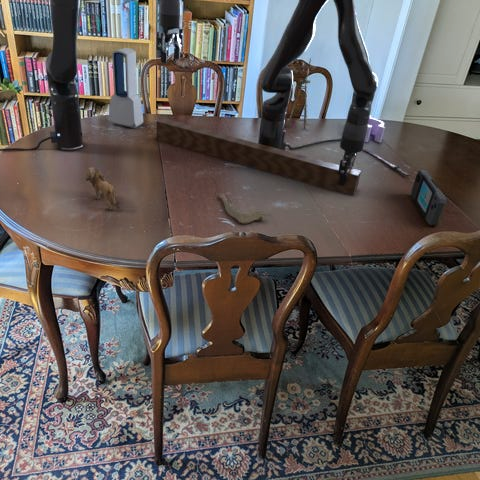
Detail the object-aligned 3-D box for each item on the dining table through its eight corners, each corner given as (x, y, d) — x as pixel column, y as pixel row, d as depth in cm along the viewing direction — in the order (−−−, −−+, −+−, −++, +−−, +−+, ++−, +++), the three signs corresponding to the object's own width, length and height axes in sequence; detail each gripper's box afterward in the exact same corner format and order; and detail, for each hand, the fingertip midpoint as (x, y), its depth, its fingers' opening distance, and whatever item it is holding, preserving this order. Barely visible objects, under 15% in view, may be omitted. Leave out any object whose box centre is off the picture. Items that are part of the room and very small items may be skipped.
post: (356, 190, 164) (361, 170, 160) (352, 195, 161) (357, 175, 157) (163, 136, 191) (163, 118, 187) (156, 139, 187) (156, 121, 183)
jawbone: (251, 231, 136) (251, 225, 134) (200, 206, 146) (200, 200, 145) (270, 218, 141) (270, 213, 140) (219, 195, 152) (219, 189, 150)
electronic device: (143, 124, 200) (142, 50, 183) (134, 129, 194) (132, 53, 177) (118, 119, 203) (114, 45, 186) (108, 124, 196) (104, 48, 180)
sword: (412, 176, 179) (413, 173, 178) (406, 177, 178) (407, 174, 177) (361, 148, 202) (362, 145, 201) (356, 149, 201) (356, 146, 200)
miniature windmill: (304, 129, 213) (316, 61, 197) (286, 126, 214) (297, 58, 198) (306, 123, 221) (318, 57, 205) (288, 120, 222) (299, 54, 206)
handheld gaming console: (409, 194, 166) (417, 168, 160) (416, 194, 166) (425, 168, 160) (428, 227, 146) (439, 199, 141) (437, 228, 147) (448, 200, 141)
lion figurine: (83, 195, 144) (80, 168, 139) (97, 189, 147) (95, 163, 142) (112, 213, 136) (111, 185, 131) (127, 207, 140) (126, 180, 135)
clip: (343, 126, 223) (346, 112, 219) (367, 127, 225) (371, 113, 221) (360, 142, 206) (364, 127, 202) (386, 142, 209) (390, 127, 205)
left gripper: (173, 9, 169) (172, 56, 178) (150, 12, 158) (150, 62, 167) (190, 12, 166) (189, 59, 175) (168, 15, 155) (168, 66, 164)
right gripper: (348, 127, 160) (338, 172, 169) (336, 138, 149) (326, 186, 158) (370, 132, 158) (358, 177, 167) (359, 144, 147) (348, 192, 156)
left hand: (170, 60), depth 171 cm, fingers open, 8 cm apart
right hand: (343, 181), depth 163 cm, fingers closed on post, 4 cm apart
